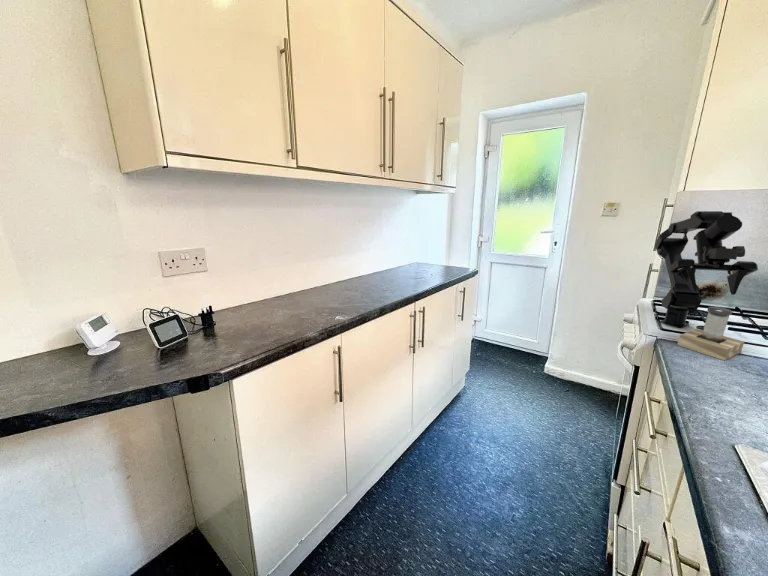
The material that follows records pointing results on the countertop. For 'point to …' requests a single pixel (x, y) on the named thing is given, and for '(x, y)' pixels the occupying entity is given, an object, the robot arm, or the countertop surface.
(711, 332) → the capped cylinder
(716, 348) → the housing
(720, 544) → the countertop surface
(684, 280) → the robot arm
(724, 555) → the countertop surface
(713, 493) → the countertop surface
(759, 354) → the countertop surface
